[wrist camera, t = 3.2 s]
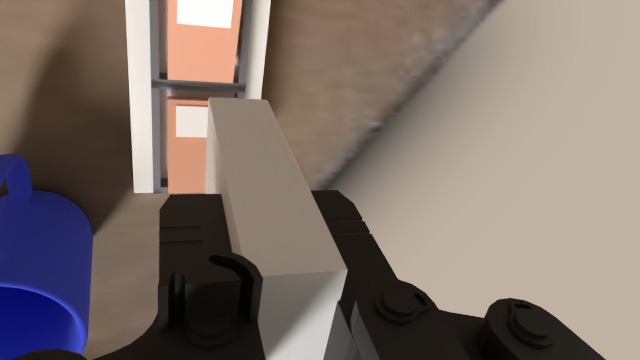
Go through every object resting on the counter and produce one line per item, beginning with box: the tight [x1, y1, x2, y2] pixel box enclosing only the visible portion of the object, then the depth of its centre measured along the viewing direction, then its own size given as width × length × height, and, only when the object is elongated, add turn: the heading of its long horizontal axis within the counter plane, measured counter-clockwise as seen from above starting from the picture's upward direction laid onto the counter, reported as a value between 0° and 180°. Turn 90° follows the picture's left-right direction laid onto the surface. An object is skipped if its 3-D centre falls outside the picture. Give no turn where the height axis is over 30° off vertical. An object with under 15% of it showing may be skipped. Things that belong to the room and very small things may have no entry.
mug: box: [0, 154, 93, 360], centre depth 27 cm, size 8×12×10 cm
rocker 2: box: [167, 96, 209, 193], centre depth 26 cm, size 5×3×2 cm, turn 170°
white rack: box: [125, 0, 271, 193], centre depth 25 cm, size 21×7×6 cm, turn 171°
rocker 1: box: [167, 0, 242, 83], centre depth 23 cm, size 5×3×2 cm, turn 172°
